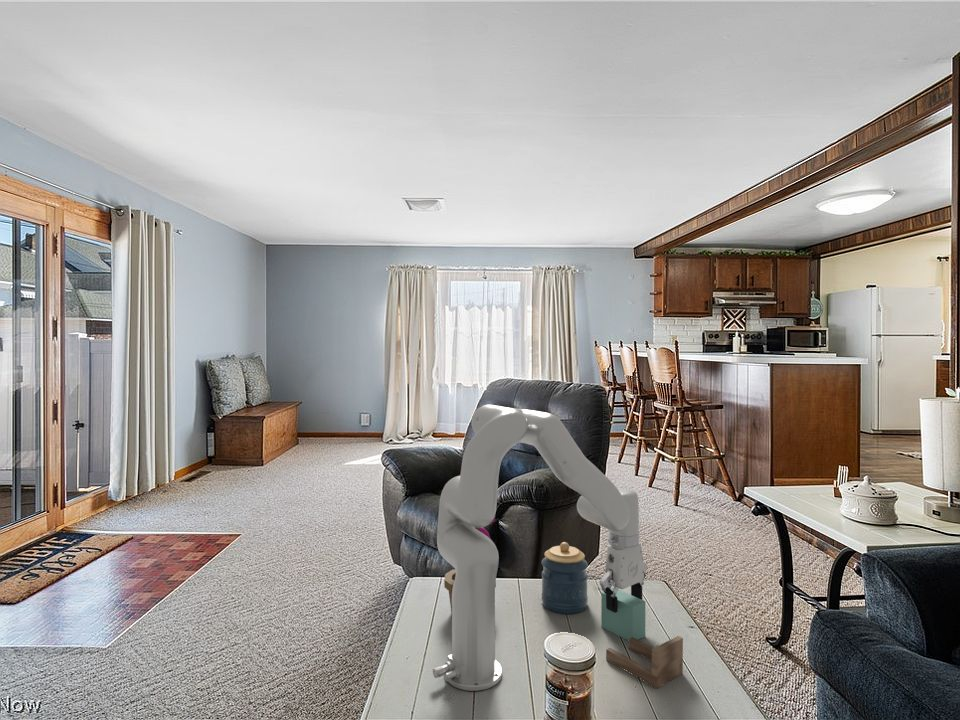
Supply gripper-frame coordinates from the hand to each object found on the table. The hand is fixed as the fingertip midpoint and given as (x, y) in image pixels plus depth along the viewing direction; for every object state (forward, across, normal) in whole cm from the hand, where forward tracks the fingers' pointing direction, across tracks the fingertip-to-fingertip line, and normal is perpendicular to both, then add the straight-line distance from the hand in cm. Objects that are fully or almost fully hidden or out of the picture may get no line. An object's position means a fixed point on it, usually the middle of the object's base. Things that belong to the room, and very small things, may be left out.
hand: (624, 605), depth 143 cm
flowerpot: (+6, -27, +31) cm, 41 cm away
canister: (+7, -2, +20) cm, 21 cm away
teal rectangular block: (+7, -1, 0) cm, 7 cm away
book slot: (+7, -10, -13) cm, 17 cm away
